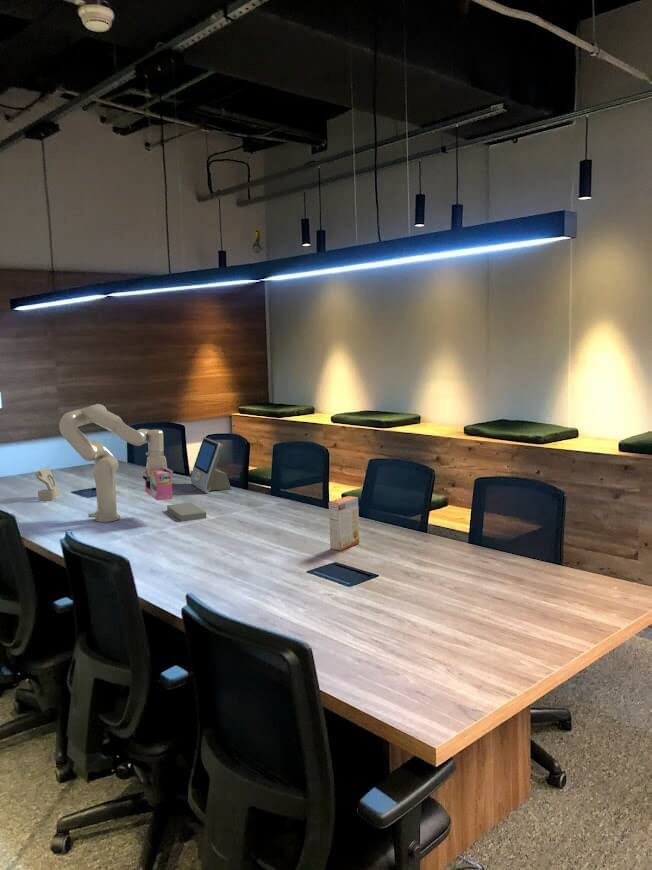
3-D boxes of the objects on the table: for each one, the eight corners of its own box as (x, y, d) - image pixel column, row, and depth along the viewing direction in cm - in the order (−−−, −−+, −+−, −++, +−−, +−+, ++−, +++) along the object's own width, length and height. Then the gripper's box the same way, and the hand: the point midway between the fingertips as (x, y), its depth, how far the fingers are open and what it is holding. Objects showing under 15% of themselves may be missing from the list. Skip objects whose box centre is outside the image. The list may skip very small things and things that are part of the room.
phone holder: (54, 501, 414) (51, 471, 412) (36, 502, 414) (34, 471, 412) (65, 495, 431) (63, 466, 429) (49, 495, 432) (46, 466, 429)
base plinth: (181, 521, 361) (181, 515, 360) (167, 510, 385) (167, 505, 384) (206, 517, 367) (206, 512, 366) (190, 507, 390) (190, 502, 390)
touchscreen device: (188, 484, 456) (187, 437, 453) (217, 482, 464) (217, 436, 461) (202, 494, 424) (202, 444, 421) (234, 491, 433) (234, 442, 429)
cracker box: (349, 541, 317) (348, 495, 315) (359, 543, 314) (359, 496, 311) (329, 549, 307) (328, 501, 304) (340, 551, 303) (339, 503, 300)
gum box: (144, 491, 374) (143, 466, 372) (159, 490, 378) (158, 464, 376) (157, 500, 354) (156, 473, 352) (172, 499, 357) (172, 472, 356)
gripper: (140, 456, 358) (141, 490, 360) (174, 453, 366) (175, 487, 368) (137, 454, 364) (138, 487, 366) (170, 451, 372) (171, 485, 374)
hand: (156, 487), depth 367 cm, fingers closed on gum box, 8 cm apart
